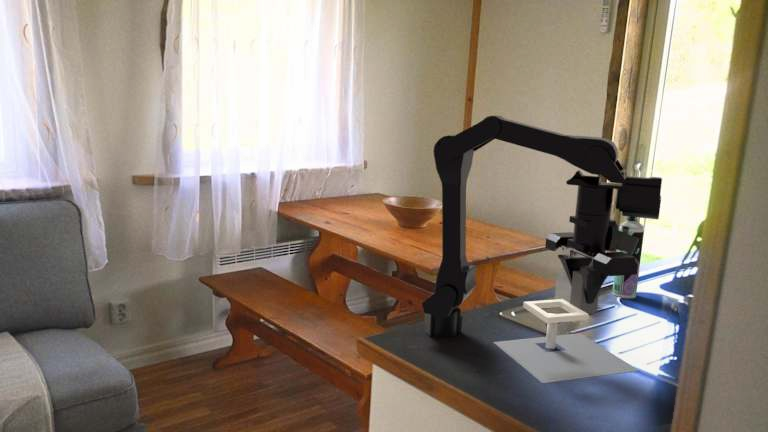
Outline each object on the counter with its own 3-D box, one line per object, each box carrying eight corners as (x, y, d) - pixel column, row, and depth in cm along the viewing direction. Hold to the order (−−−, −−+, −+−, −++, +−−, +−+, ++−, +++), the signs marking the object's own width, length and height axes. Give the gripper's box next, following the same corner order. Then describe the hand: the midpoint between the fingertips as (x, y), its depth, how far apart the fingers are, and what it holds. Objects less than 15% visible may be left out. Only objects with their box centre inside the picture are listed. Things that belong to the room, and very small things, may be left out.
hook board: (541, 391, 99) (545, 347, 98) (492, 349, 115) (495, 311, 113) (638, 378, 105) (643, 337, 103) (578, 340, 121) (582, 303, 119)
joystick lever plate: (547, 323, 100) (550, 282, 99) (523, 307, 108) (526, 269, 106) (605, 318, 104) (609, 279, 102) (578, 302, 111) (582, 266, 110)
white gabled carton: (554, 303, 142) (558, 262, 140) (564, 296, 147) (567, 256, 145) (569, 307, 140) (573, 265, 138) (579, 299, 145) (583, 259, 143)
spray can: (633, 300, 146) (643, 218, 142) (610, 295, 149) (618, 215, 145) (637, 294, 151) (647, 215, 147) (614, 290, 153) (623, 212, 150)
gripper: (672, 222, 97) (659, 315, 100) (599, 202, 114) (591, 281, 118) (612, 224, 94) (602, 320, 97) (547, 203, 111) (540, 284, 114)
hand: (583, 300), depth 106 cm, fingers closed on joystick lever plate, 3 cm apart
